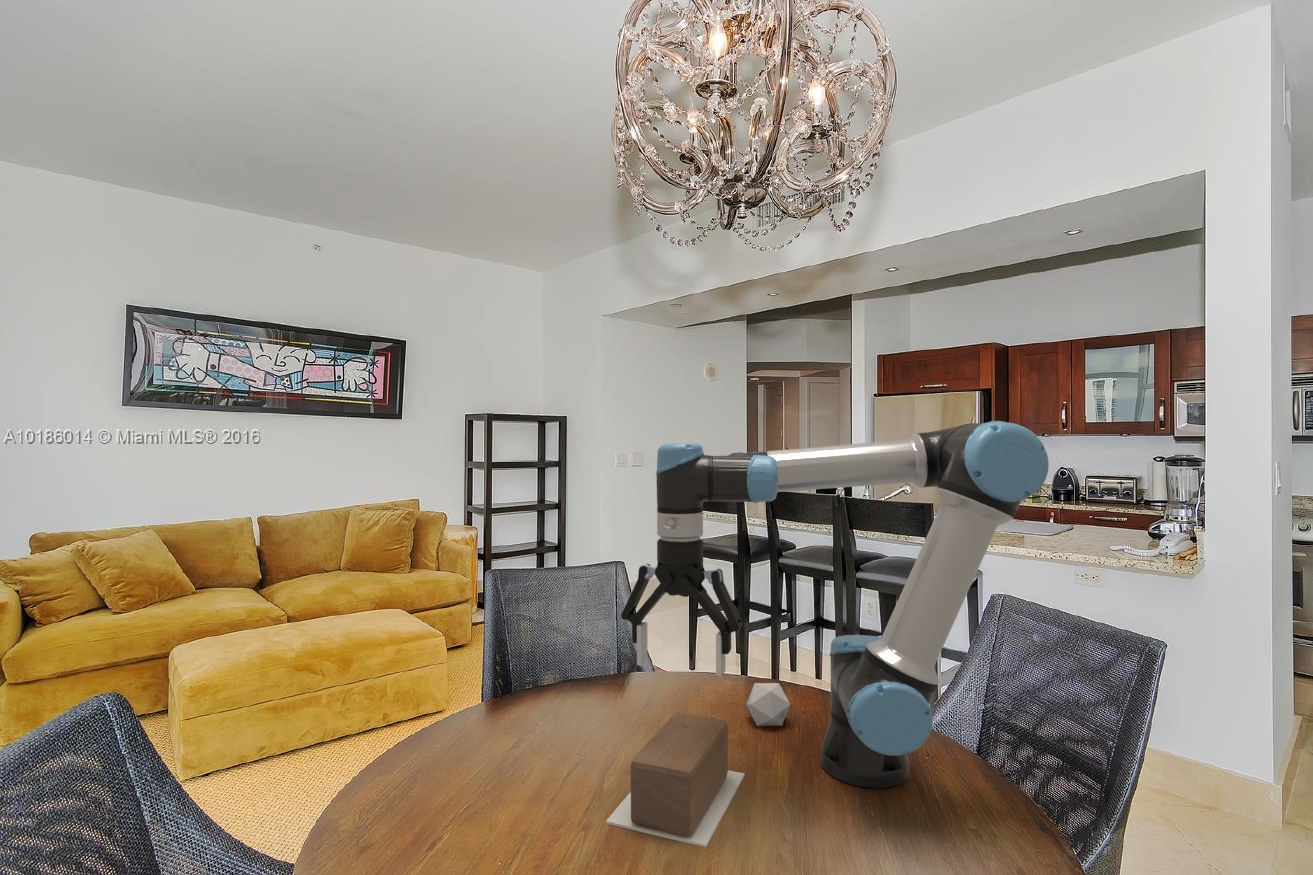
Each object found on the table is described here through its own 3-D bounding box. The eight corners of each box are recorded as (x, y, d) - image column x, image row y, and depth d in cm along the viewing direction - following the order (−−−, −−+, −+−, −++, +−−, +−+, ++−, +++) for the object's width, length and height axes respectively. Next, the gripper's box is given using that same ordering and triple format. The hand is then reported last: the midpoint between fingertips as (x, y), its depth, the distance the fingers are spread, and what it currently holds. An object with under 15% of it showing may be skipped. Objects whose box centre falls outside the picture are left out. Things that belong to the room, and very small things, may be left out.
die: (779, 739, 132) (801, 694, 135) (741, 714, 134) (763, 670, 137) (772, 736, 140) (793, 694, 143) (736, 713, 141) (757, 672, 144)
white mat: (744, 775, 117) (744, 773, 117) (706, 847, 96) (706, 844, 96) (659, 759, 123) (659, 756, 123) (606, 823, 102) (606, 820, 102)
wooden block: (628, 759, 101) (674, 709, 119) (628, 825, 101) (675, 765, 119) (691, 771, 97) (729, 718, 116) (691, 840, 97) (729, 776, 116)
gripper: (601, 537, 111) (601, 665, 111) (749, 545, 101) (749, 686, 101) (620, 531, 118) (621, 652, 118) (760, 538, 108) (761, 669, 108)
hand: (680, 668), depth 109 cm, fingers open, 13 cm apart
